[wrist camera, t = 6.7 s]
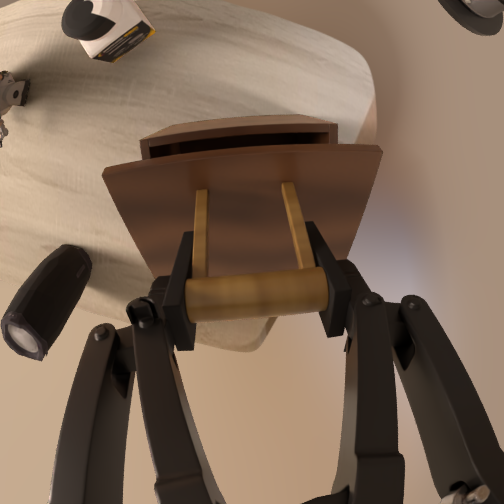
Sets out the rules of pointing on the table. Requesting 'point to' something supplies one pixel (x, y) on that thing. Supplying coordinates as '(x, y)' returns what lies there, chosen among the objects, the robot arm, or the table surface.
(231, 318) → the chest lid
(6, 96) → the figurine
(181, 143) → the chest
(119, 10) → the medicine bottle
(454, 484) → the robot arm
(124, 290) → the table surface
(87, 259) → the portable speaker
